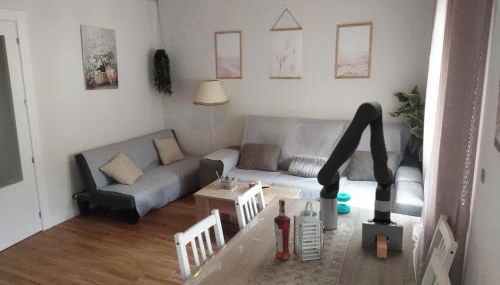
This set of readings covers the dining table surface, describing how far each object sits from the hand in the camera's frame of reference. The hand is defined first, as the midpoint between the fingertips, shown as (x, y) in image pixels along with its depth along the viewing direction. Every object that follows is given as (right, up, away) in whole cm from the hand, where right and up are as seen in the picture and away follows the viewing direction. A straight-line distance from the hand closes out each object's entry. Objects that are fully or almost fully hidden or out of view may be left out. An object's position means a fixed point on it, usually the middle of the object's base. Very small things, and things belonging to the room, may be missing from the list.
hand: (381, 240), depth 182 cm
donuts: (-9, +7, +40) cm, 42 cm away
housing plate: (-2, -2, -6) cm, 7 cm away
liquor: (-50, -5, -12) cm, 51 cm away
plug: (-2, -2, -6) cm, 7 cm away
